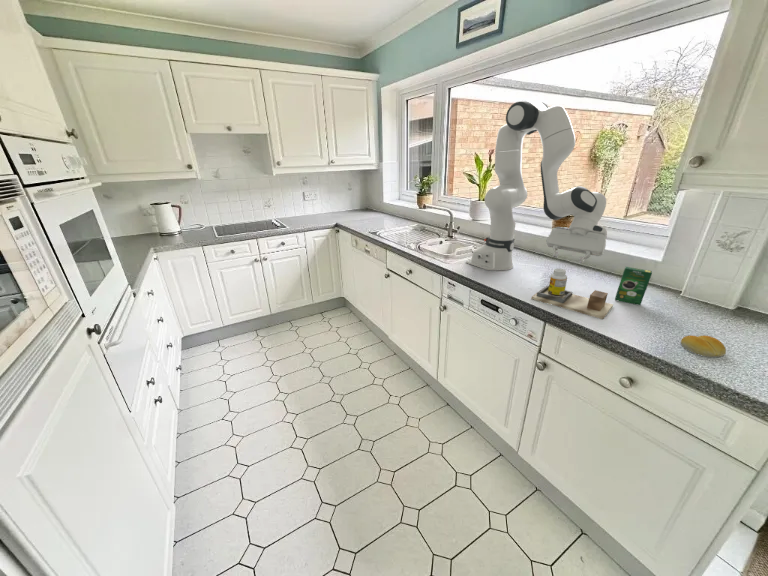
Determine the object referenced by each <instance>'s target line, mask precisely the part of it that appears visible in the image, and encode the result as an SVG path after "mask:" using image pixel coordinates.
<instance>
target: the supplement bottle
mask: <svg viewBox="0 0 768 576" xmlns="http://www.w3.org/2000/svg"><path fill="white" fill-rule="evenodd" d="M566 273H567V271H566V269H563V268H554V269H553V273H552V274H551V275H550V277H549V285H548V286H549V290H548V294H549V295H551V296H555V297H563V296H564V293H565V290H566V286H567V281H568V275H566Z"/></svg>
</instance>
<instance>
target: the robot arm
mask: <svg viewBox="0 0 768 576" xmlns="http://www.w3.org/2000/svg"><path fill="white" fill-rule="evenodd" d="M536 132H538V134H539V136H540V140H541V141H540V142H541V145H542V159H541V161H540V177H541V185H542V191H543V193H542V194H543V205H542V206H543V207H542V208H543V211H544V215H546V217H548V218H549V219H551V220H552V221H558V220H561V219H563V218H566V217H567V216H571V215H572V216H573V219H572V221H571V223H570V225H569V227H563V226H562V227H561V226H557V227H553V228H552V229H551V231H550V234H549V235H548V237H547V238H546V241H545V244H546V246H547V247H549V248H552V249H553V253H552V254H551V255H552V258H554V259H555V258H556V259H557V258H558V256H559V252H557V251H558V250H563V251H567V252H569V251H570V252H573V253H578V254H584V255H583V256H579V259H578V263H581V264H584V262H585V260H587V259H589V258H590V257H591V256H595V257H601V256H603V255H604V253H605V250H606V246H607V245H606V244H607V241H606V239H608V238H607V236H608V230H607V229H606V227H603V226H600V225H599V224H598V223H599V222H600V220H602V217H603V215H604V212H605V210H606V207H607V198H606V196H605V195H604V194H603V193H601V192H599V191H598V192H597V191H590V189H588V188H587V187H584V186H582V185H581V186H576V187H572V188H570V189H567V190H566V191H563V192H560V189H559V181H558V171H559V169H560V167H561V165H562V164H563V163H564V161H566V159H567V158H568V157H569V156H571V154H572V152H573V151H574V149H575V146H576V135H575V132H574V128H573V125H572V122H571V118H570V116H569V114H568V112H567V111H566V109H565V107H564V106H562V105H561V104H560V105H559V104H555V105H551V106H548V105H547V103H544V102H540V101H538V100H524V99H523V100H518V101H516V102H514V103H512V104H511V105H510V107H508V109H507V111H506V114H505V124H504V125H502V126H500V127H499V129H498V131H497V136H496V141H495V150H494V152H495V154H494V155H495V156H494V171H495V172H494V173H495V174H496V175H497V178H498V180H499V185H496V186H494V187H492V188H490V189H489V190H488V191H487V192H486V193H485V194H484V204H485V206H486V208H488V212H489V216H490V227H489V236H487V237H486V238H484V240H483V242H485V243H484V244H483V245H481V246H480V247H477V248H476V249H474V251H473V252H472V254H471V255H472V256H471V257H469V258H468V259H467V260H466V263H467V264H468V265H472V266H474V267H478V268H480V269H483V270H485V271H508V270H511V269H513V268H514V265H513V250H514V247H515V246H514V245H515V230H516V224H517V223H516V221H515V219H514V215H513V208H517V207H519V206H520V205H522V204H524V202H525V201H526V200H527V197H528V190H527V188H526V186H525V184H524V179H523V174H522V173H523V172H522V159H523V158H522V157H523V142H524V138H525V136H526V135H532V134H533V133H536Z"/></svg>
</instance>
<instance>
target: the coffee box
mask: <svg viewBox="0 0 768 576" xmlns="http://www.w3.org/2000/svg"><path fill="white" fill-rule="evenodd" d="M652 274H653V272H652V270H649V269H648V270H647V269H641V268H638V267H630V266H625V267H624V270H623V273H622V275H621V276H622V277H620V278H621V279H620V281H619V285H618V288H617V291H616V294H615V298H614V301H617V302H620V303H626V304H631V305H636V306H641V305H642V302H643V300H644V296H645V293H646V291H647V288H648V285H649V282H650V279H651V277H652Z"/></svg>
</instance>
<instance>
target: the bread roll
mask: <svg viewBox="0 0 768 576" xmlns="http://www.w3.org/2000/svg"><path fill="white" fill-rule="evenodd" d="M680 344H681V346H682V347H683V349H684V350H686V349H687V350H686V351H688V350H689V351H688V352H690V351H691V352H690V353H692V352H693V354H695V353H696V355H698V354H699V356H701V355H702V357H706V358H721V357H724V356H725V355H726V353H727V350H726V349H727V348H726V347H725V344H723V342H722V341H720V340H719V339H717V337H716V338H715V337H713V336H710V335H699V336H698V335H686V336H684V337H682V338H681V340H680Z"/></svg>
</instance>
